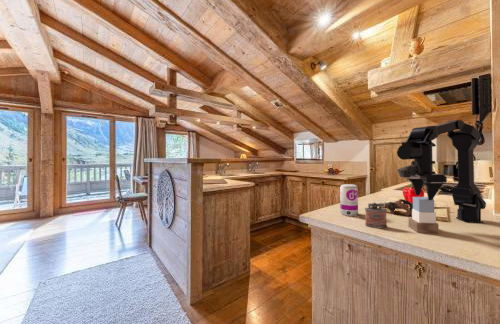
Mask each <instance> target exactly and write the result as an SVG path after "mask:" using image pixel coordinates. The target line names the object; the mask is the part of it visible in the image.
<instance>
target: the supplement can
mask: <svg viewBox="0 0 500 324" xmlns="http://www.w3.org/2000/svg"><path fill="white" fill-rule="evenodd" d="M358 195H359V188H358V186H357V185H356V184H354V183H353V184H351V183H347V184H345V183H343V184H341V185H340V187H339V202H340V203H339V205H340V207H339V208H340V209H339V210H340V211H339V212H340V214H341V216H342V215H343V216H346V217H356V216H358V214H359V196H358Z"/></svg>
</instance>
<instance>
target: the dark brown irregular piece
mask: <svg viewBox="0 0 500 324" xmlns="http://www.w3.org/2000/svg"><path fill="white" fill-rule="evenodd" d="M407 205H408V206H407ZM399 207H400V208H401V209H403V210H405V211H406V212H405V216H406V217H409V216H410V215H412V209H413V202H410V201H409V200H407V199H404V198H399V199H398V200H396V201H394V202H392V201H390V202H388V203H386V208H387V209H388V211H391V213H395V211H394V210H395V208H399Z"/></svg>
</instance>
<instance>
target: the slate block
mask: <svg viewBox="0 0 500 324" xmlns="http://www.w3.org/2000/svg"><path fill="white" fill-rule="evenodd" d="M412 204H413V209H414V210H416V211H418V212H432V213H434V212H435V199H434V198H433V200H428V196H412Z"/></svg>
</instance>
